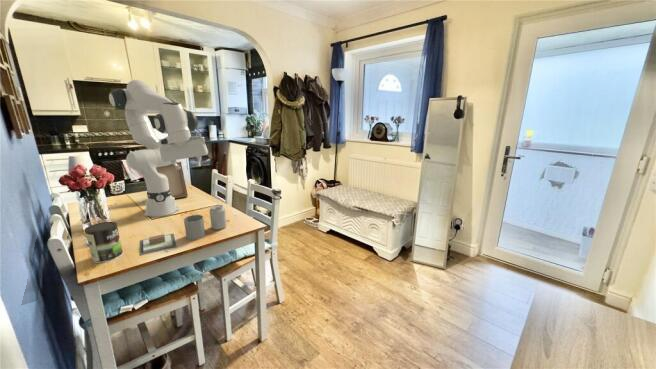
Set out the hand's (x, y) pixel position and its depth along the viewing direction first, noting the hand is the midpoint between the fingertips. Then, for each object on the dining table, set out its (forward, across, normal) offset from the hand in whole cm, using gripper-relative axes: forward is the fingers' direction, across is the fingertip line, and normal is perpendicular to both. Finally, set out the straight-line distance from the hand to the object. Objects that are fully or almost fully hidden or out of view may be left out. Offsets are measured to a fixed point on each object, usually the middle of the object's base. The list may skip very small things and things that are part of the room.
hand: (188, 167), depth 122 cm
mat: (+32, +20, +7) cm, 39 cm away
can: (+35, -2, -11) cm, 37 cm away
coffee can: (+31, +35, +17) cm, 49 cm away
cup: (+34, +6, 0) cm, 35 cm away
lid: (+32, +20, +7) cm, 38 cm away
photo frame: (+23, +48, -60) cm, 80 cm away
